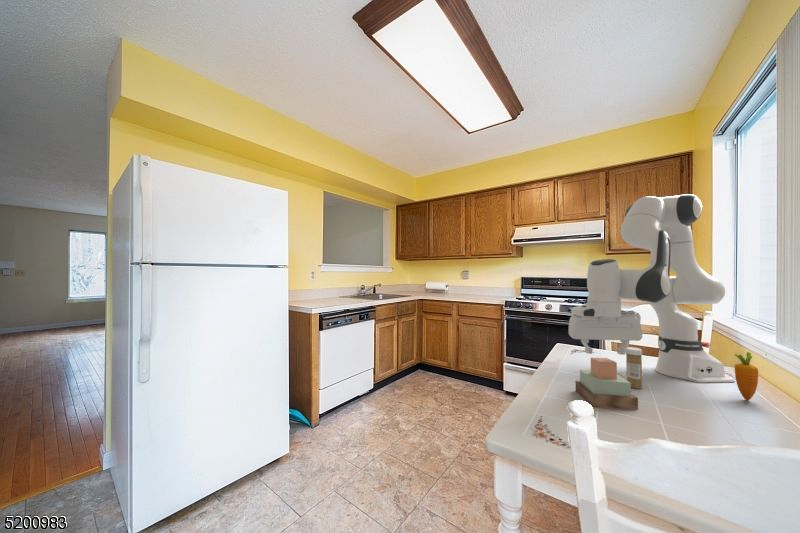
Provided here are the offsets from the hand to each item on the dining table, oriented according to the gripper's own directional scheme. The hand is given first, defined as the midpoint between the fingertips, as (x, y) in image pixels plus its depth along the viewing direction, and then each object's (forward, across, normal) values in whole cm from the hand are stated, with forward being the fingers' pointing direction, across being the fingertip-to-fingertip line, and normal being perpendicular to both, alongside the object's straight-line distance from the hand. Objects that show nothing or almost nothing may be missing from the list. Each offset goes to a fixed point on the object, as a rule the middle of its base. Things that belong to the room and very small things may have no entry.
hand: (604, 353), depth 93 cm
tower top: (+11, +1, 0) cm, 11 cm away
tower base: (+15, +1, +1) cm, 15 cm away
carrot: (+15, -44, -6) cm, 46 cm away
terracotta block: (+7, +1, 0) cm, 7 cm away
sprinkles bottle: (+15, -16, -13) cm, 25 cm away
